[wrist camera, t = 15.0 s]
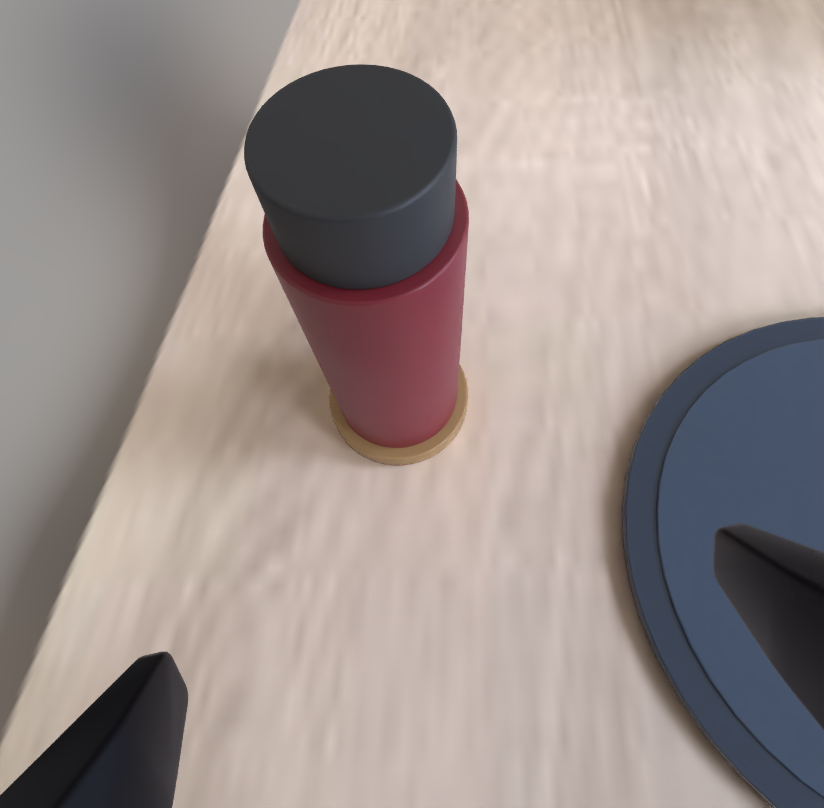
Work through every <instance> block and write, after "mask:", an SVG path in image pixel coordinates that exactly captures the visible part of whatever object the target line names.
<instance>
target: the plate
mask: <svg viewBox="0 0 824 808" xmlns="http://www.w3.org/2000/svg"><path fill="white" fill-rule="evenodd" d="M622 524H623V546H624V553H625V559H626V565H627V572H628V578H629V582H630V586H631V589H632V593H633V596H634V600H635V603H636V607H637V610H638V614H639V617H640V620H641V622H642V625H643V627H644V630H645V632H646V634H647V637H648V639H649V642H650V644H651V647H652V649H653V651H654V654H655V656H656V658H657V660H658V662H659V664H660V666H661V667H662V669H663V671H664V673H665V675H666V676H667V678H668V680H669V682H670V684H671V686H672V687H673V689H674V691H675V693H676V695H677V696H678V698H679V699H680V701H681V702H682V704H683V705H684V707H685V708H686V709H687V711H688V712H689V714H690V715H691V717H692V718H693V719H694V721H695V722H696V724H697V725H698V727H699V728H700V730H701V731H702V732H703V734H704V735H705V737H706V738H707V739H708V740H709V741H710V742H711V743H712V745H713V746H714V747H715V748H716V749H717V750H718V752H719V753H720V754H721V755H722V756H723V757H724V759H725V760H726V761H727V762H728V763H729V764H730V766H731V767H732V768H733V769H734V770H735V771H736V772H737V774H738V775H740V776H741V777H742V778H743V779H744V780H745V781H746V782H747V783H748V784H749V785H750V786H751V787H752V788H753V789H754V790H755V791H756V792H758V793H759V794H760V795H761V796H762V797H763V798H764V799H765V800H766V801H767V802H768V803H769V804H770V805H771V806H772V807H773V808H824V730H823V729H822V728H821V727H820V725H819V724H818V723H817V722H816V720H815V719H814V718H813V717H812V715H811V714H810V713H809V712H808V710H807V709H806V708H805V707H804V705H803V704H802V703H801V702H800V700H799V699H798V698H797V697H796V695H795V694H794V693H793V692H792V690H791V689H790V688H789V687H788V685H787V684H786V683H785V682H784V680H783V679H782V678H781V676H780V675H779V674H778V672H777V671H776V670H775V668H774V667H773V666H772V664H771V663H770V661H769V660H768V658H767V657H766V656H765V654H764V653H763V651H762V650H761V648H760V646H759V645H758V643H757V642H756V640H755V639H754V637H753V636H752V634H751V633H750V631H749V630H748V628H747V627H746V625H745V624H744V622H743V621H742V619H741V618H740V616H739V615H738V613H737V612H736V610H735V609H734V607H733V605H732V604H731V602H730V601H729V599H728V598H727V596H726V595H725V593H724V592H723V590H722V589H721V587H720V586H719V584H718V582H717V580H716V578H715V575H714V572H713V552H714V535H715V532H716V530H717V529H719V528H721V527H725V526H730V525H734V524H746V525H749V526H752V527H755V528H758V529H760V530H763V531H766V532H769V533H772V534H774V535H777V536H780V537H783V538H785V539H788V540H791V541H794V542H797V543H799V544H802V545H805V546H808V547H810V548H813V549H816V550H819V551H822V552H824V317H819V318H806V319H799V320H792V321H786V322H780V323H776V324H772V325H769V326H765V327H762V328H758V329H754V330H751V331H749V332H747V333H744V334H742V335H740V336H737V337H735V338H732V339H730V340H728V341H726V342H724V343H722V344H721V345H719V346H717V347H716V348H714V349H712V350H711V351H709V352H707V353H706V354H704V355H702V356H701V357H700V358H699V359H698V360H696V361H695V362H694V363H693V364H692V365H690V366H689V367H688V368H687V369H686V370H684V371H683V372H682V373H681V374H680V375H679V376H678V377H677V378H676V379H675V380H674V382H673V383H672V384H671V385H670V386H669V387H668V388H667V390H666V391H665V392H664V393H663V394H662V395H661V396H660V398H659V399H658V401H657V402H656V404H655V406H654V407H653V409H652V410H651V412H650V413H649V415H648V417H647V418H646V420H645V422H644V424H643V426H642V429H641V431H640V433H639V435H638V438H637V440H636V442H635V445H634V447H633V451H632V454H631V458H630V462H629V466H628V470H627V474H626V478H625V487H624V496H623V505H622Z"/></svg>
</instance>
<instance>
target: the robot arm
mask: <svg viewBox="0 0 824 808" xmlns="http://www.w3.org/2000/svg"><path fill="white" fill-rule="evenodd" d="M713 572H714V575H715V578H716V580H717V582H718V584H719V586H720V587H721V589H722V590H723V592H724V593H725V595H726V596H727V598H728V599H729V601H730V602H731V604H732V605H733V607H734V609H735V610H736V612H737V613H738V615H739V616H740V618H741V619H742V621H743V622H744V624H745V625H746V627H747V628H748V630H749V631H750V633H751V634H752V636H753V637H754V639H755V640H756V642H757V643H758V645H759V646H760V648H761V650H762V651H763V653H764V654H765V656H766V657H767V658H768V660H769V661H770V663H771V664H772V666H773V667H774V668H775V670H776V671H777V672H778V674H779V675H780V676H781V678H782V679H783V680H784V682H785V683H786V684H787V685H788V687H789V688H790V689H791V690H792V692H793V693H794V694H795V695H796V697H797V698H798V699H799V700H800V702H801V703H802V704H803V705H804V707H805V708H806V709H807V710H808V712H809V713H810V714H811V715H812V717H813V718H814V719H815V720H816V722H817V723H818V724H819V725H820V727H821V728H822V729H823V730H824V552H822V551H819V550H816V549H813V548H810V547H808V546H805V545H802V544H799V543H797V542H794V541H791V540H788V539H785V538H783V537H780V536H777V535H774V534H772V533H769V532H766V531H763V530H760V529H758V528H755V527H752V526H749V525H746V524H734V525H730V526H725V527H721V528H719V529H717V530H716V532H715V535H714V552H713ZM187 706H188V691H187V687H186V684H185V682H184V680H183V678H182V676H181V674H180V672H179V670H178V668H177V666H176V664H175V662H174V660H173V658H172V656H171V655H170V654H169V653H168V652H158V653H154V654H149V655H145V656H142V657H140V658H138V659H137V660H136V661H135V662H134V663H133V664H132V665H131V666H130V667H129V668H128V669H127V670H126V671H125V672H124V673H123V674H122V675H121V676H120V677H119V678H118V679H117V680H116V681H115V682H114V683H113V684H112V685H111V686H110V687H109V688H108V689H107V690H106V691H105V692H104V693H103V694H102V695H101V696H100V697H99V698H98V699H97V700H96V701H95V702H94V703H93V704H92V705H91V706H90V707H89V708H88V709H87V710H86V711H85V712H84V713H83V714H82V715H81V716H80V717H79V718H78V719H77V720H76V721H75V722H74V723H73V724H72V725H71V726H70V727H69V728H68V729H67V730H66V731H65V732H64V733H63V734H62V735H61V736H60V737H59V738H58V739H57V740H56V741H55V742H54V743H53V744H52V745H51V746H50V747H49V748H48V749H47V750H46V751H45V752H44V753H43V754H42V755H41V756H40V757H39V758H38V759H37V760H35V761H34V762H33V763H32V764H31V765H30V766H29V767H28V768H27V769H26V770H25V771H24V772H23V773H22V774H21V775H20V776H19V777H18V778H17V779H16V780H15V781H14V782H13V783H12V784H11V785H10V786H9V787H8V788H7V789H6V790H5V791H4V792H3V793H2V794H1V795H0V808H172V805H173V799H174V793H175V787H176V780H177V774H178V767H179V760H180V753H181V747H182V740H183V733H184V726H185V720H186V713H187Z"/></svg>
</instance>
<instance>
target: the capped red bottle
mask: <svg viewBox="0 0 824 808" xmlns="http://www.w3.org/2000/svg"><path fill="white" fill-rule="evenodd" d="M456 157H457V129H456V124H455V120H454V118H453V115H452V113H451V110H450V108H449V107H448V105H447V103H446V102H445V100H444V99H443V98H442V96H441V95H440V94H439V93H438V92H437V91H436V90H435V89H434V88H432V87H431V86H430V85H429V84H427V83H426V82H424V81H423V80H421V79H420V78H417V77H415V76H413V75H411V74H409V73H406V72H404V71H401V70H398V69H394V68H389V67H384V66H377V65H345V66H338V67H333V68H328V69H324V70H320V71H317V72H314V73H311V74H309V75H306V76H304V77H301V78H299V79H297V80H295V81H294V82H292V83H290V84H288V85H287V86H285V87H284V88H282V89H281V90H279V91H278V92H277V93H275V94H274V95H273V96H272V97H271V98H269V100H268V101H267V102H266V103H265V104H264V105H263V106H262V107H261V108H260V110H259V111H258V112H257V114H256V115H255V117H254V119H253V120H252V122H251V124H250V126H249V129H248V132H247V135H246V140H245V146H244V159H245V165H246V169H247V172H248V175H249V178H250V180H251V182H252V185H253V187H254V189H255V192H256V194H257V196H258V198H259V201H260V203H261V205H262V208H263V210H264V212H265V215H264V222H263V241H264V246H265V250H266V253H267V255H268V258H269V260H270V262H271V264H272V267H273V269H274V271H275V273H276V275H277V277H278V279H279V281H280V283H281V285H282V288H283V290H284V292H285V294H286V296H287V298H288V300H289V302H290V304H291V306H292V309H293V311H294V313H295V315H296V317H297V319H298V321H299V323H300V325H301V327H302V330H303V332H304V334H305V336H306V338H307V340H308V342H309V344H310V346H311V348H312V350H313V353H314V355H315V357H316V359H317V361H318V363H319V365H320V367H321V369H322V371H323V374H324V376H325V378H326V380H327V382H328V384H329V386H330V397H329V398H330V409H331V414H332V417H333V419H334V422H335V424H336V426H337V428H338V430H339V431H340V433H341V435H342V437H343V438H344V439H345V441H346V442H347V443H348V444H349V445H350V446H351V447H352V448H353V449H354V450H355V451H357V452H358V453H359V454H361V455H363V456H364V457H366V458H368V459H371V460H373V461H376V462H380V463H383V464H390V465H406V464H412V463H416V462H420V461H423V460H425V459H428V458H430V457H432V456H434V455H435V454H437V453H439V452H440V451H441V450H443V449H444V448H445V447H446V446H447V445H448V444H449V443H450V442H451V441H452V440H453V439H454V437H455V436H456V435H457V433H458V432H459V430H460V428H461V426H462V424H463V421H464V418H465V414H466V409H467V400H468V387H467V382H466V378H465V375H464V372H463V370H462V368H461V366H460V364H459V361H460V346H461V331H462V316H463V301H464V286H465V271H466V256H467V241H468V227H469V211H468V206H467V201H466V198H465V195H464V193H463V190H462V188H461V187H460V185H459V183H458V181H457V180H456Z"/></svg>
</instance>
